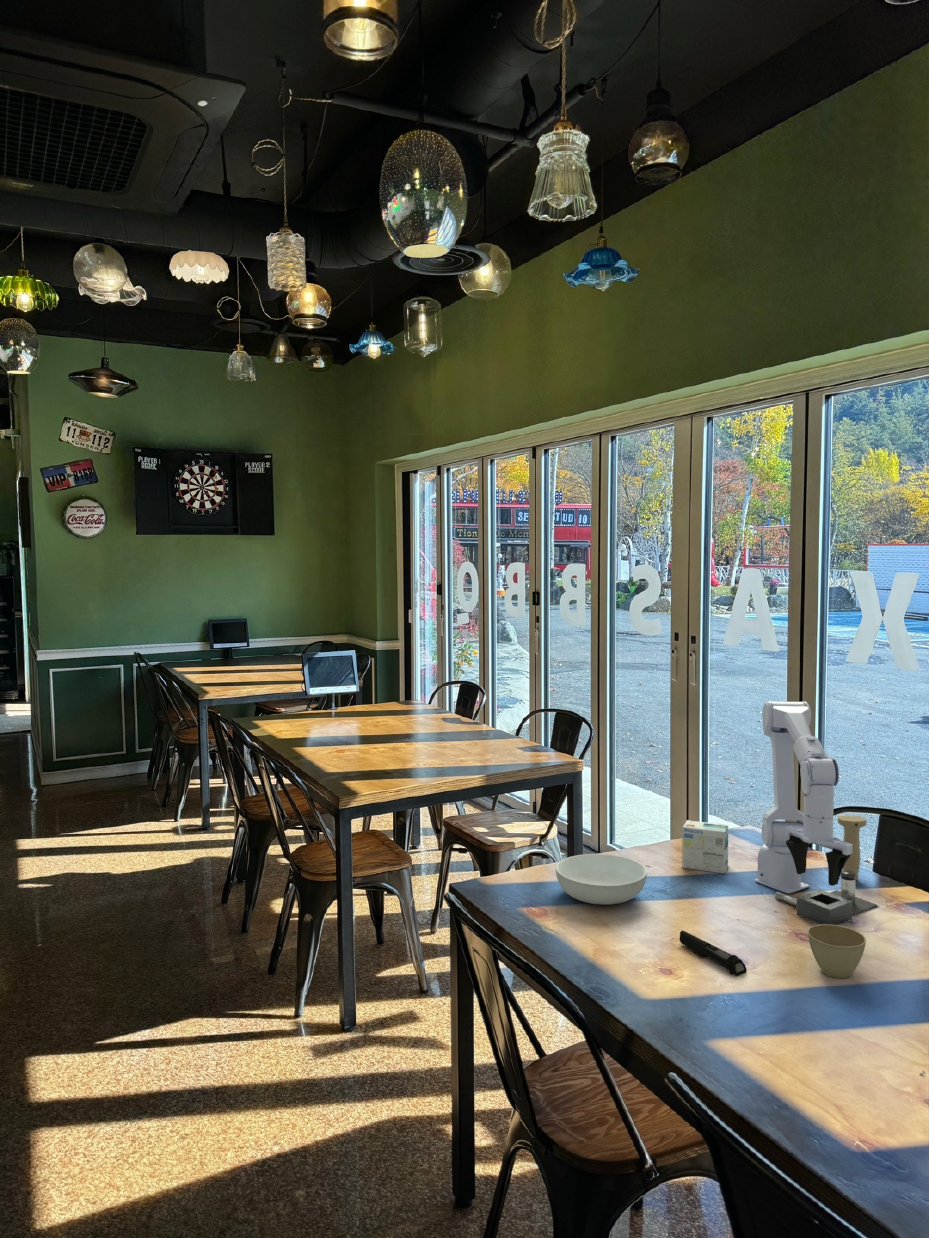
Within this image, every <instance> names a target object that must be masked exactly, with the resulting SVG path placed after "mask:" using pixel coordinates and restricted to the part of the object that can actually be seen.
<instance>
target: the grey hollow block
mask: <svg viewBox="0 0 929 1238" xmlns="http://www.w3.org/2000/svg"><path fill="white" fill-rule="evenodd" d="M774 898H775V899H776V900H778V901H781V902H784V903H786V904H789V905H791V906H793V907H796V915H797V916H798V917H801V918H802V919H806V920H808V921H811V922H813V923H815V924H817V925H820V924H831V925H839V926H840V925H842V924H844V923H846V922H847V923H848V922H849V920H850V921H852V920H853V901H851V900H848V899H845V898H842V897H840V896H837V895H834V894H831V893H830V892H829V891H825V890H822V889H817V890H813V891H811V892H807V893H805V894H801V895H799V896H796V898H795V897H793V896H791V895H787V894H786V893H784V892H783V893H782V892H781V891H776V893H775V895H774Z"/></svg>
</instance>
